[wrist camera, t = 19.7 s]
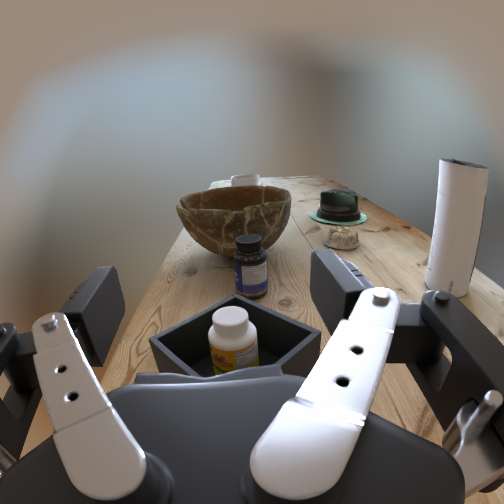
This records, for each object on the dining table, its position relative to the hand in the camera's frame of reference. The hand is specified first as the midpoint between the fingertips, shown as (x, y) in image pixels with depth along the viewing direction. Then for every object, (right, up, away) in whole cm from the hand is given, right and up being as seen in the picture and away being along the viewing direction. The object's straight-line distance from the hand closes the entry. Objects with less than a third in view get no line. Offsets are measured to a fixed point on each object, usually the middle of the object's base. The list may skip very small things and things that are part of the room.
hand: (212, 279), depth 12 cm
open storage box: (0, -16, +25) cm, 29 cm away
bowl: (-2, +1, +65) cm, 65 cm away
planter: (-1, +23, +119) cm, 121 cm away
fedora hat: (+31, +13, +90) cm, 96 cm away
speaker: (+42, -6, +42) cm, 59 cm away
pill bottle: (+2, -7, +47) cm, 47 cm away
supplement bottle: (0, -15, +25) cm, 29 cm away
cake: (+25, +3, +67) cm, 72 cm away
